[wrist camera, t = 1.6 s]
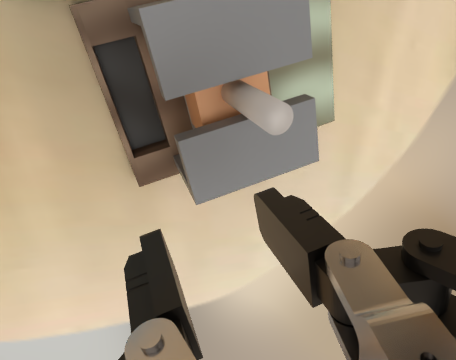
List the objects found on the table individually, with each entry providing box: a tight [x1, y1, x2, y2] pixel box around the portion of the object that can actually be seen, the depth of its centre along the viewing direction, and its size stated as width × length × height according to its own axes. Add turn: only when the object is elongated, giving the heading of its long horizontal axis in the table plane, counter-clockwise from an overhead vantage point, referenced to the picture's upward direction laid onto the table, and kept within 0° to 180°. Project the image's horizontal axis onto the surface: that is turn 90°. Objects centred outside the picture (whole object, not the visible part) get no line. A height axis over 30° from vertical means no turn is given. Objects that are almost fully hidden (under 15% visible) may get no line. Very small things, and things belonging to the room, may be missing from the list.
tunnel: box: [127, 0, 319, 205], centre depth 27 cm, size 14×11×8 cm
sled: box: [184, 71, 293, 135], centre depth 25 cm, size 8×6×13 cm
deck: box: [69, 0, 334, 187], centre depth 32 cm, size 16×22×2 cm
